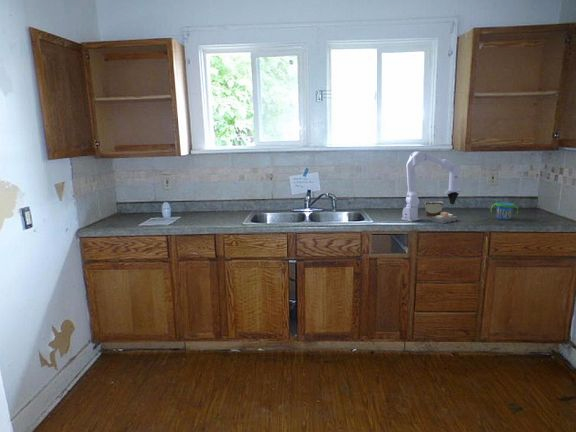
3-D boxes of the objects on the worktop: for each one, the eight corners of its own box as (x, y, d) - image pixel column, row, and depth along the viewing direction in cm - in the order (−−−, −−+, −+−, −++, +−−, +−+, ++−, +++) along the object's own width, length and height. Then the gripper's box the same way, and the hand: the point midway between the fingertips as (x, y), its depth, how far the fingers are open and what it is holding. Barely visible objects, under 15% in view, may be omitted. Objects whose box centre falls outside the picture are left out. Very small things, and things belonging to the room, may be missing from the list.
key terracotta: (444, 218, 245) (445, 213, 244) (440, 217, 248) (440, 212, 247) (448, 218, 246) (448, 212, 246) (443, 217, 249) (443, 212, 249)
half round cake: (440, 214, 266) (441, 200, 264) (442, 216, 260) (443, 202, 258) (421, 214, 268) (422, 200, 266) (423, 216, 262) (424, 202, 260)
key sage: (440, 222, 243) (440, 216, 242) (435, 221, 245) (435, 215, 245) (443, 221, 244) (443, 216, 244) (438, 220, 247) (439, 215, 247)
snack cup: (517, 218, 251) (518, 203, 249) (517, 221, 242) (519, 205, 240) (490, 216, 258) (491, 201, 256) (489, 219, 249) (490, 204, 247)
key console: (442, 223, 240) (443, 219, 239) (430, 221, 247) (430, 217, 247) (457, 220, 248) (457, 216, 247) (445, 218, 255) (445, 214, 254)
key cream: (449, 220, 247) (449, 215, 247) (444, 219, 250) (444, 214, 250) (452, 219, 249) (452, 214, 249) (447, 218, 252) (448, 213, 251)
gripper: (452, 184, 241) (450, 205, 244) (466, 182, 249) (464, 203, 251) (442, 183, 247) (441, 204, 250) (456, 181, 255) (454, 202, 257)
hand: (452, 204), depth 251 cm, fingers closed
